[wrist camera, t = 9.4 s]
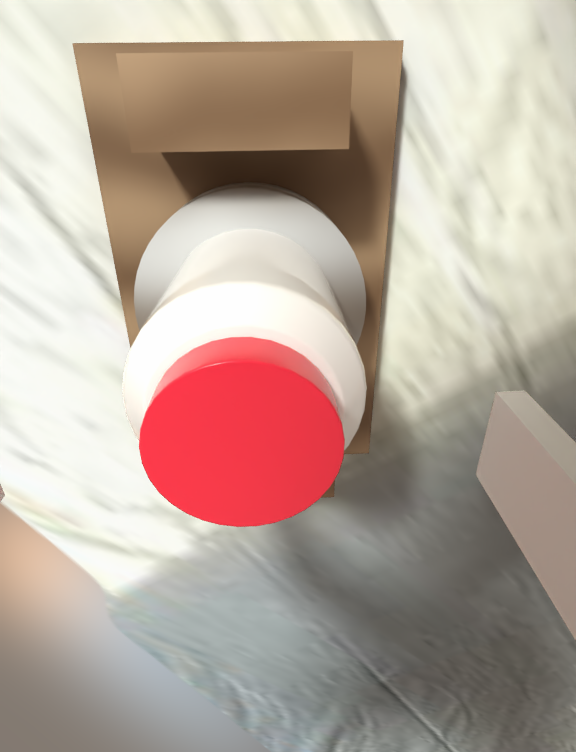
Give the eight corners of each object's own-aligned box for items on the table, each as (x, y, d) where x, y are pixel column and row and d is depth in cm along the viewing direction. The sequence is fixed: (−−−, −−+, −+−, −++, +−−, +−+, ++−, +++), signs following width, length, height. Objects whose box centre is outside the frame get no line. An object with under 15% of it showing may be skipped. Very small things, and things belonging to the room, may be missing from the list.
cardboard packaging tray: (82, 47, 20) (15, 16, 15) (396, 44, 21) (444, 13, 15) (156, 450, 31) (132, 519, 25) (365, 442, 31) (386, 508, 26)
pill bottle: (284, 194, 20) (306, 254, 10) (358, 340, 23) (428, 492, 13) (135, 280, 21) (26, 407, 11) (225, 405, 24) (200, 587, 15)
